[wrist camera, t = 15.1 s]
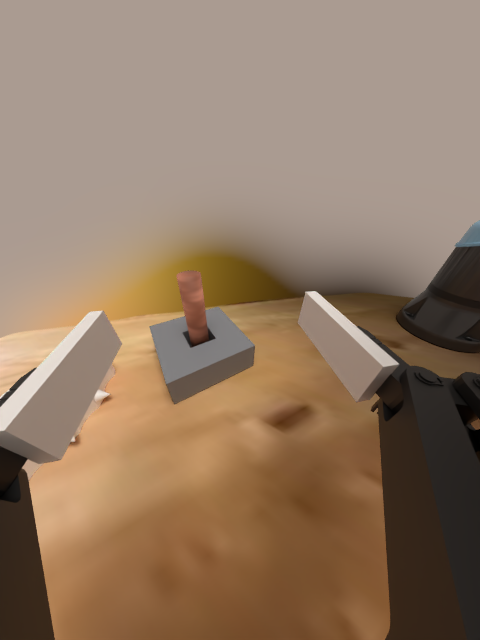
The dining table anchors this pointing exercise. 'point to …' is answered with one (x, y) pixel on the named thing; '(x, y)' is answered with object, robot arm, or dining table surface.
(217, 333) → the socket block
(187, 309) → the dowel
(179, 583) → the dining table surface
